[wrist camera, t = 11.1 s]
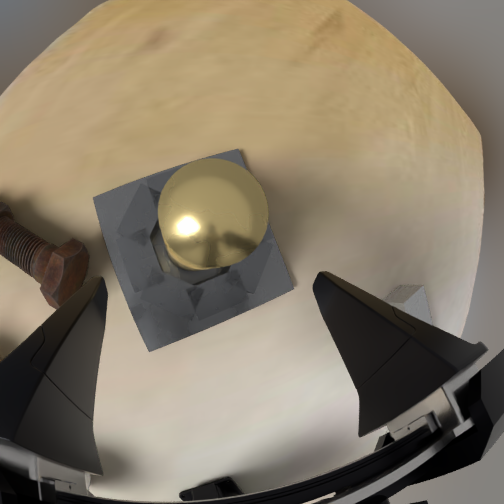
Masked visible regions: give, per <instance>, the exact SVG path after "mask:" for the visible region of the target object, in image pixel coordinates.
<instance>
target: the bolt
mask: <svg viewBox="0 0 504 504" xmlns="http://www.w3.org/2000/svg"><path fill="white" fill-rule="evenodd" d="M0 254H1V255H2V256H3V257H5V258H6V259H7V260H9V261H10V262H12V263H13V264H15V265H16V266H18V267H19V268H20V269H22V270H23V271H24V272H25V273H27V274H29V275H30V276H31V277H33V278H34V279H35V280H36V281H37V282H38V283H40V284H41V287H40V290H41V292H42V294H43V296H44V297H45V299H46V301H47V302H48V304H49V305H50V306H52V307H53V308H55V309H58V308H59V307H60V306H61V305H63V304H64V303H65V302H66V301H67V300H68V299H69V298H70V297H71V296H72V295H73V294H75V293H76V292H77V291H78V290H79V289H80V288H81V287H82V284H83V281H84V279H85V276H86V273H87V268H88V262H89V254H88V251H87V249H86V247H85V246H84V244H83V243H81V242H79V241H78V240H76V239H74V238H72V239H71V240H69V241H68V242H66V243H65V244H63V245H62V246H60V247H57V246H55V245H54V244H50V243H48V242H46V241H45V240H43V239H41V238H40V237H38V236H36V235H35V234H33V233H32V232H30V231H28V230H27V229H25V228H24V227H22V226H21V225H19V224H17V223H16V222H14V218H13V215H12V212H11V210H10V209H9V207H8V205H6V204H5V203H3V202H0Z"/></svg>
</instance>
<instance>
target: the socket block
mask: <svg viewBox="0 0 504 504" xmlns="http://www.w3.org/2000/svg"><path fill="white" fill-rule="evenodd" d="M208 158H216V159H223V160H227V161H231V162H233V163H236V164H238V165H239V166H241V167H243V168H244V169H246V170H247V168H246V166H245V164H244V161H243V159H242V156H241V154H240V152H239V149H235V150H231V151H228V152H224V153H220V154H216V155H213V156H209V157H206V158H202V159H208ZM199 160H201V159H199ZM196 161H197V160H196ZM192 162H194V161H192ZM189 163H191V162H189ZM189 163H186V164H182V165H179V166H176V167H173V168H170V169H167V170H164V171H161V172H158V173H155V174H152V175H150V176H147V177H144V178H141V179H138V180H136V181H133V182H130V183H128V184H125V185H123V186H120V187H118V188H115V189H113V190H110V191H108V192H105V193H103V194H100V195H98V196H96V197H93V200H94V204H95V208H96V212H97V216H98V219H99V223H100V226H101V230H102V233H103V236H104V240H105V243H106V246H107V249H108V252H109V255H110V258H111V261H112V264H113V267H114V270H115V273H116V275H117V278H118V281H119V284H120V286H121V289H122V291H123V294H124V296H125V299H126V301H127V304H128V306H129V309H130V311H131V314H132V316H133V318H134V321H135V323H136V325H137V327H138V330H139V332H140V334H141V336H142V338H143V340H144V343H145V345H146V347H147V349H148V351H149V352H151V351H153V350H156V349H158V348H161V347H163V346H166V345H168V344H171V343H173V342H176V341H178V340H181V339H183V338H186V337H188V336H191V335H193V334H195V333H198V332H200V331H203V330H205V329H207V328H210V327H212V326H214V325H217V324H219V323H221V322H224V321H226V320H228V319H230V318H233V317H235V316H237V315H239V314H242V313H244V312H246V311H248V310H251V309H253V308H255V307H257V306H259V305H261V304H264V303H266V302H268V301H270V300H272V299H274V298H276V297H279V296H281V295H283V294H285V293H287V292H289V291H291V290H293V289H294V287H293V284H292V282H291V279H290V276H289V274H288V271H287V268H286V266H285V263H284V261H283V258H282V255H281V253H280V250H279V248H278V245H277V243H276V240H275V238H274V235H273V232H272V230H271V227H270V225H269V222H268V225H267V229H266V232H265V235H264V237H263V239H262V241H261V242H260V244H259V245H258V247H257V248H256V249H255V250H254V251H253V252H252V253H251V254H250V255H249V256H248V257H246V258H245V259H243V260H241V261H239V262H238V263H235V264H232V265H229V266H225V267H219V268H212V269H205V270H199V271H187V270H183V269H181V268H179V267H177V266H176V265H175V264H174V263H173V262H172V261H171V259H170V258H169V256H168V253H167V250H166V247H165V243H164V240H163V236H162V232H161V229H160V225H159V219H158V204H159V199H160V195H161V193H162V190H163V188H164V186H165V184H166V183H167V181H168V180H169V179H170V177H171V176H172V175H173V174H174V173H175V172H176V171H177V170H179V169H180V168H182V167H183V166H185V165H187V164H189Z"/></svg>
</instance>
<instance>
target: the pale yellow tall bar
mask: <svg viewBox="0 0 504 504" xmlns="http://www.w3.org/2000/svg"><path fill="white" fill-rule="evenodd" d="M268 216H269V211H268V204H267V199H266V196H265V194H264V191H263V189H262V187H261V186H260V184H259V183H258V181H257V180H256V179H255V178H254V176H253V175H252V174H251V173H249V172H248V171H247V170H246V169H244V168H243V167H241V166H239V165H238V164H236V163H233V162H231V161H227V160H223V159H216V158H208V159H201V160H197V161H194V162H191V163H189V164H187V165H185V166H183V167H182V168H180V169H179V170H177V171H176V172H175V173H174V174H173V175H172V176H171V177H170V179H169V180H168V181H167V183H166V184H165V186H164V188H163V190H162V193H161V195H160V199H159V204H158V219H159V225H160V229H161V232H162V236H163V240H164V243H165V247H166V250H167V253H168V256H169V258H170V259H171V261H172V262H173V263H174V264H175V265H176V266H177V267H179V268H181V269H183V270H187V271H199V270H205V269H212V268H219V267H225V266H229V265H232V264H235V263H238V262H239V261H241V260H243V259H245V258H246V257H248V256H249V255H250V254H251V253H252V252H253V251H254V250H255V249H256V248H257V247H258V245H259V244H260V242H261V241H262V239H263V237H264V235H265V232H266V229H267V225H268Z"/></svg>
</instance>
